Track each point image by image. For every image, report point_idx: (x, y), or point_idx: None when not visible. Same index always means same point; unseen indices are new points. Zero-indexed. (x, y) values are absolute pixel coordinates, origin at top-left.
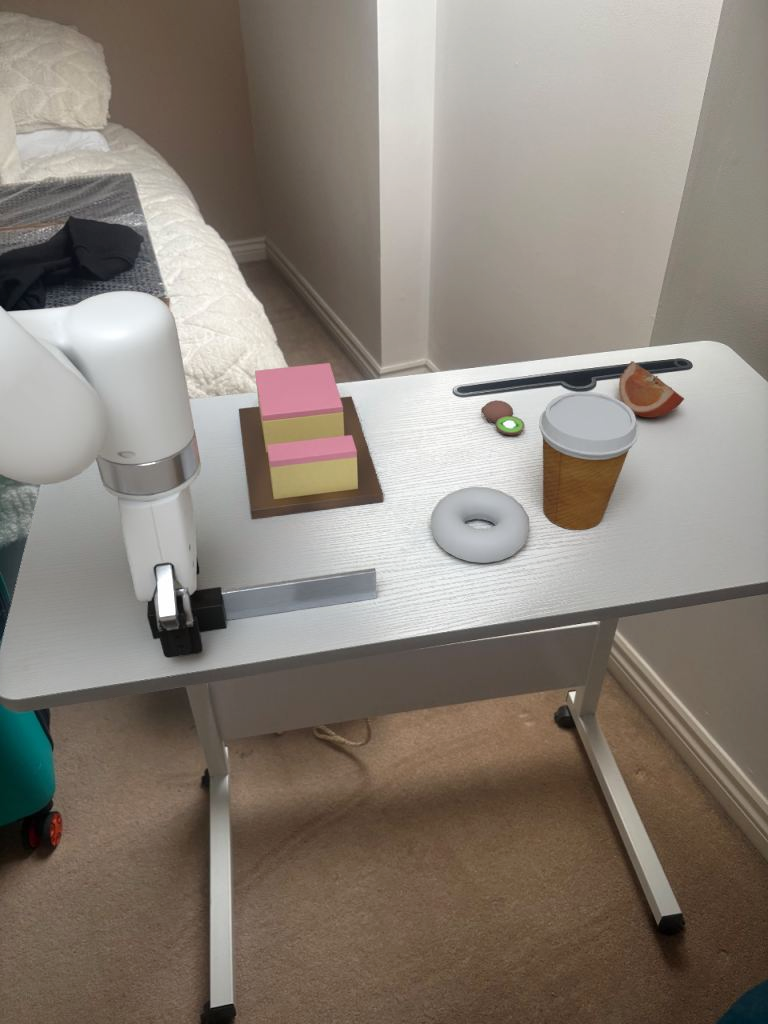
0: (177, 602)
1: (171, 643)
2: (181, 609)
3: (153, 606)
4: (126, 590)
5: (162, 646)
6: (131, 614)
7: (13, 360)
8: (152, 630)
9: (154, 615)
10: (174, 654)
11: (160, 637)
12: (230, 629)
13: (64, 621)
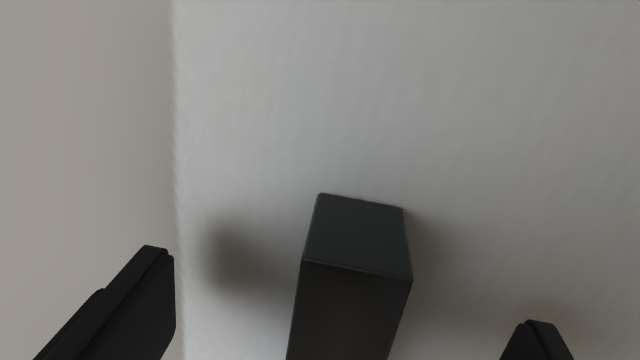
0: (333, 354)
1: (61, 334)
2: (295, 354)
3: (348, 286)
4: (611, 149)
5: (115, 278)
6: (468, 146)
7: None
8: (312, 216)
9: (298, 279)
10: (103, 289)
11: (82, 316)
12: None
13: None
